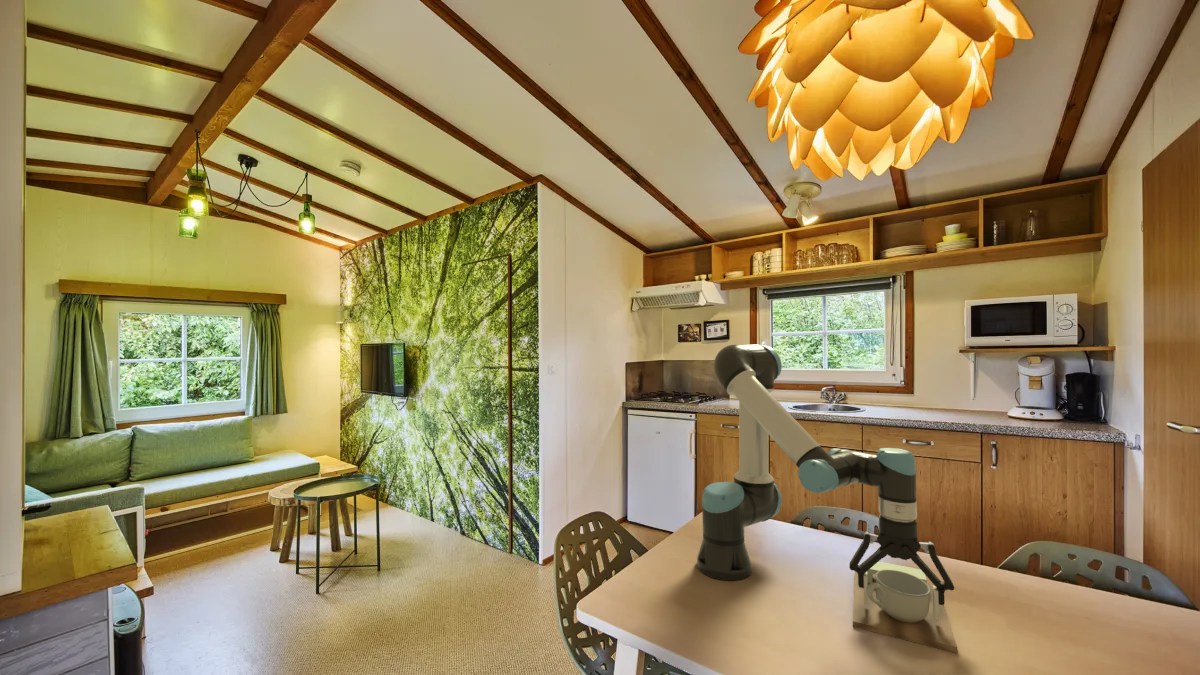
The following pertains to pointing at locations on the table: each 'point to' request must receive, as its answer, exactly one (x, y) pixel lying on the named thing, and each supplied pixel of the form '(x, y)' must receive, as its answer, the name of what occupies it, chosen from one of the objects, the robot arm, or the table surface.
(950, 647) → the board
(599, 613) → the table surface
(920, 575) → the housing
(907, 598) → the teacup
